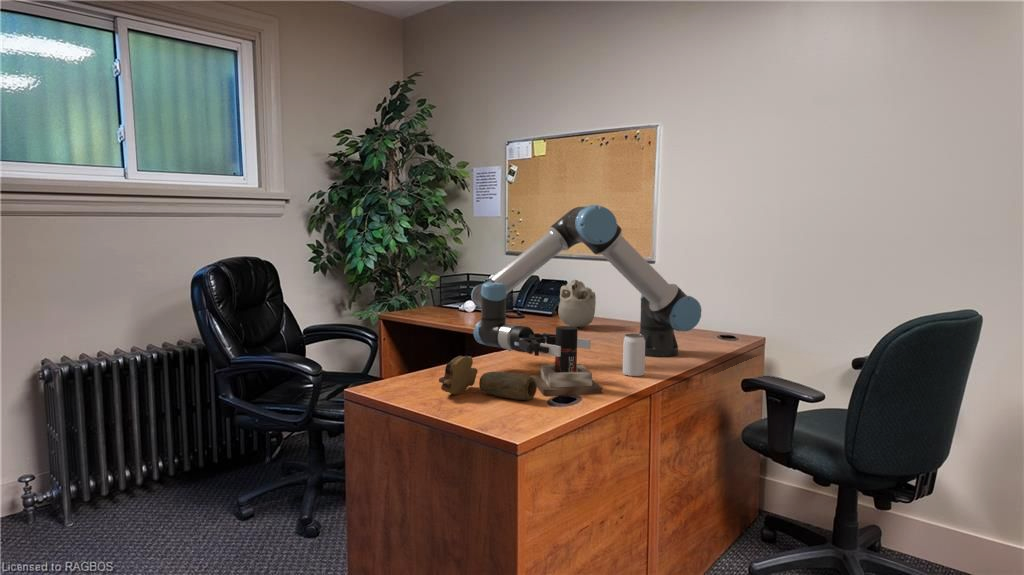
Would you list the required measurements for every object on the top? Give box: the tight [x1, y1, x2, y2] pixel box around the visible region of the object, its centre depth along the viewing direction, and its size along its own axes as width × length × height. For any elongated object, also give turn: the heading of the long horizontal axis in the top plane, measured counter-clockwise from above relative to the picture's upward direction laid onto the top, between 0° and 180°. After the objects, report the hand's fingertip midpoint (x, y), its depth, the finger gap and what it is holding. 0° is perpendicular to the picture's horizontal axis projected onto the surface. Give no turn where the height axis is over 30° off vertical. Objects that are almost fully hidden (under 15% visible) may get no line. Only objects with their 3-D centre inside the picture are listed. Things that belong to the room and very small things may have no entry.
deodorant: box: [554, 325, 579, 373], centre depth 168 cm, size 6×6×15 cm
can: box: [622, 333, 646, 377], centre depth 183 cm, size 6×6×12 cm
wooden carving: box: [438, 355, 478, 396], centre depth 161 cm, size 16×5×10 cm, turn 159°
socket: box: [531, 363, 603, 397], centre depth 168 cm, size 16×16×5 cm
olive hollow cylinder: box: [478, 371, 538, 401], centre depth 158 cm, size 15×7×7 cm, turn 62°
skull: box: [557, 279, 597, 328], centre depth 267 cm, size 20×15×22 cm
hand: (575, 347), depth 166 cm, fingers open, 13 cm apart
